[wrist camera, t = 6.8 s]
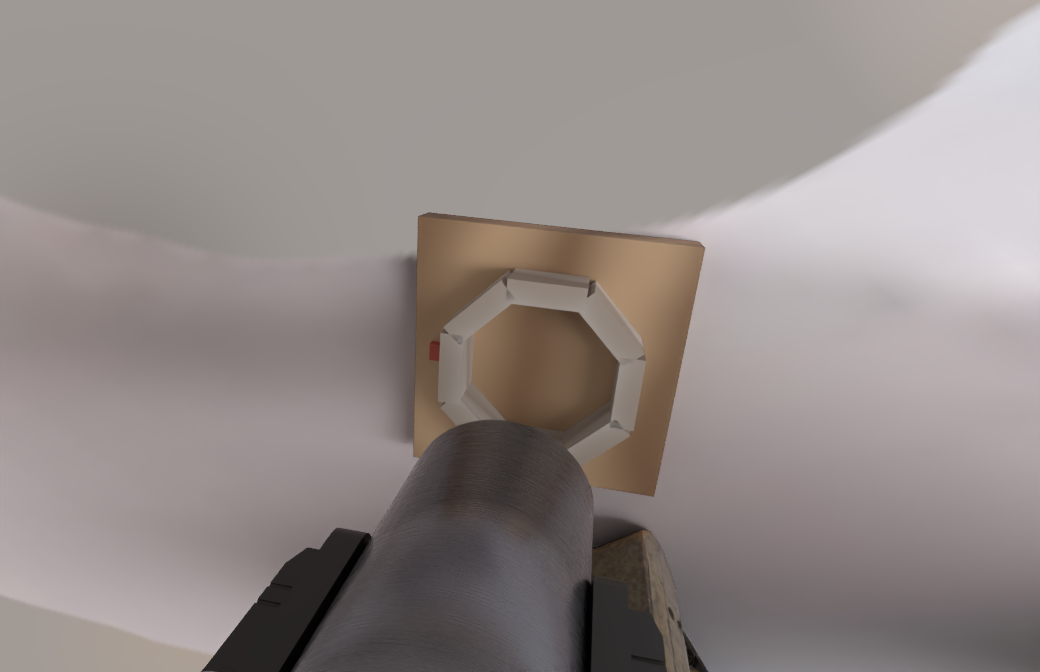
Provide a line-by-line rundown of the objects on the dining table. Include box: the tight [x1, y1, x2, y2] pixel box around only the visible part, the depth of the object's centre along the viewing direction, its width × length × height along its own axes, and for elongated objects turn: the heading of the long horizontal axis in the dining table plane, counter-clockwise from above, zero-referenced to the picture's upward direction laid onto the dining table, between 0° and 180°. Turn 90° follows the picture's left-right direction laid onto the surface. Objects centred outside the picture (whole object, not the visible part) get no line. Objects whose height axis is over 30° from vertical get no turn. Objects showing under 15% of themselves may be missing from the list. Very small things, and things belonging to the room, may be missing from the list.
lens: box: [291, 420, 594, 672], centre depth 10 cm, size 5×5×10 cm
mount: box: [413, 213, 705, 497], centre depth 24 cm, size 12×12×4 cm
